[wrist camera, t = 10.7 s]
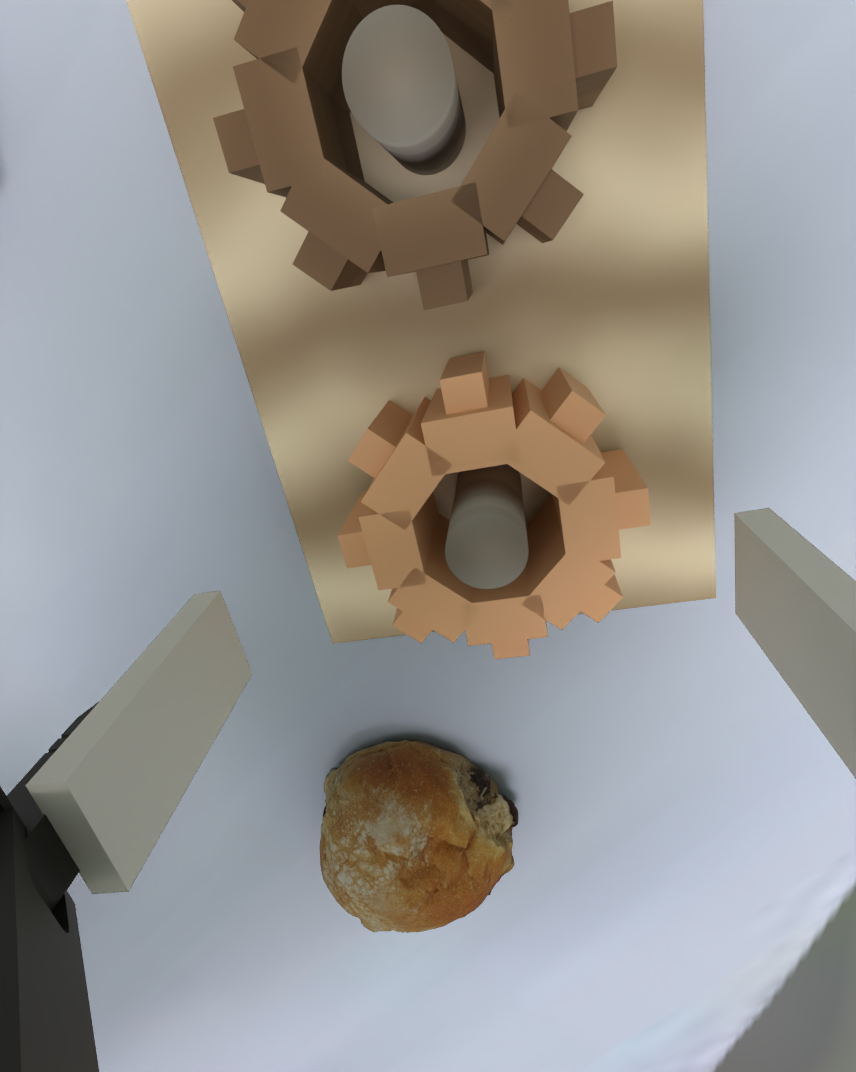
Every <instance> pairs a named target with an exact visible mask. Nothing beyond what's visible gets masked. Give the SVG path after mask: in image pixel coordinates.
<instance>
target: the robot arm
mask: <svg viewBox="0 0 856 1072" xmlns="http://www.w3.org/2000/svg"><path fill="white" fill-rule="evenodd" d="M734 517H735V613H736V614H737V616H738V617H739V619H740V620H741V621H742V623H743V624H744V625H745V627H746V628H747V630H748V631H749V632H750V634H751V635H752V636H753V638H754V639H755V641H756V642H757V643H758V645H759V646H760V647H761V649H762V650H763V652H764V653H765V654H766V656H767V657H768V659H769V660H770V661H771V663H772V664H773V665H774V667H775V668H776V670H777V671H778V672H779V674H780V675H781V676H782V678H783V679H784V681H785V682H786V683H787V685H788V686H789V687H790V689H791V690H792V692H793V693H794V694H795V696H796V697H797V698H798V700H799V701H800V703H801V704H802V705H803V707H804V708H805V709H806V711H807V712H808V714H809V715H810V716H811V718H812V719H813V721H814V722H815V723H816V725H817V726H818V727H819V729H820V730H821V732H822V733H823V734H824V736H825V737H826V738H827V740H828V741H829V743H830V744H831V745H832V747H833V748H834V749H835V751H836V752H837V754H838V755H839V756H840V758H841V759H842V760H843V762H844V763H845V765H846V766H847V767H848V769H849V770H850V771H851V773H852V774H853V776H854V777H855V778H856V581H855V580H854V579H853V578H851V577H850V576H849V575H848V574H847V573H846V572H844V571H843V570H842V569H841V568H840V567H838V566H837V565H836V564H835V563H834V562H833V561H831V560H830V559H829V558H828V557H827V556H825V555H824V554H823V553H822V552H821V551H820V550H818V549H817V548H816V547H815V546H814V545H812V544H811V543H810V542H809V541H808V540H807V539H805V538H804V537H803V536H802V535H801V534H799V533H798V532H797V531H796V530H795V529H794V528H792V527H791V526H790V525H789V524H788V523H786V522H785V521H784V520H783V519H782V518H781V517H779V516H778V515H777V514H776V513H775V512H773V511H772V510H771V509H770V508H765V509H758V510H751V511H745V512H738V513H734ZM251 675H252V672H251V669H250V666H249V664H248V661H247V659H246V656H245V654H244V651H243V648H242V646H241V643H240V641H239V638H238V635H237V633H236V630H235V628H234V625H233V623H232V620H231V617H230V615H229V612H228V610H227V607H226V604H225V602H224V599H223V597H222V594H221V592H220V591H214V592H207V593H201V594H194V595H193V596H192V597H191V599H190V600H189V601H188V602H187V603H186V604H185V605H184V607H183V608H182V609H181V610H180V611H179V612H178V613H177V614H176V616H175V617H174V618H173V619H172V620H171V621H170V622H169V624H168V625H167V626H166V627H165V628H164V629H163V630H162V631H161V633H160V634H159V635H158V636H157V637H156V638H155V639H154V640H153V642H152V643H151V644H150V645H149V646H148V647H147V648H146V650H145V651H144V652H143V653H142V654H141V655H140V656H139V657H138V659H137V660H136V661H135V662H134V663H133V664H132V665H131V667H130V668H129V669H128V670H127V671H126V672H125V673H124V674H123V676H122V677H121V678H120V679H119V680H118V681H117V682H116V684H115V685H114V686H113V687H112V688H111V689H110V690H109V691H108V693H107V694H106V695H105V696H104V697H103V698H102V699H101V701H100V702H98V703H96V704H95V705H94V706H92V707H91V708H90V709H88V710H87V711H86V712H84V713H83V714H82V715H80V716H79V717H78V718H77V719H76V720H75V721H74V722H73V723H72V724H71V725H70V726H69V728H68V729H67V730H66V731H65V732H64V733H63V734H62V735H61V736H62V738H61V739H58V740H57V741H56V742H55V743H54V744H53V745H52V746H51V748H50V749H49V753H45V754H44V755H43V756H42V758H41V759H40V760H39V761H38V762H37V763H36V764H35V765H34V766H33V768H32V769H31V770H30V771H29V772H28V773H27V774H26V775H25V776H24V778H23V779H22V780H21V781H20V782H19V783H18V784H17V785H16V786H15V788H14V789H13V790H12V791H11V792H10V793H9V794H8V795H7V796H6V795H5V793H4V792H3V790H2V788H1V787H0V1072H99V1068H98V1061H97V1054H96V1047H95V1040H94V1034H93V1027H92V1020H91V1013H90V1006H89V999H88V992H87V985H86V978H85V971H84V965H83V958H82V951H81V944H80V937H79V930H78V923H77V916H76V909H75V904H74V902H73V900H72V898H71V896H70V895H69V893H68V892H67V889H68V887H69V886H70V884H71V883H72V881H73V880H74V878H75V877H76V875H77V874H78V872H79V873H80V875H81V876H82V878H83V880H84V881H85V883H86V885H87V886H88V888H89V889H90V891H91V893H92V894H99V893H114V892H129V890H130V888H131V887H132V885H133V883H134V881H135V879H136V878H137V876H138V874H139V872H140V871H141V869H142V867H143V865H144V864H145V862H146V860H147V858H148V857H149V855H150V853H151V851H152V850H153V848H154V846H155V844H156V843H157V841H158V839H159V837H160V835H161V834H162V832H163V830H164V828H165V827H166V825H167V823H168V821H169V820H170V818H171V816H172V814H173V813H174V811H175V809H176V807H177V806H178V804H179V802H180V800H181V799H182V797H183V795H184V793H185V791H186V790H187V788H188V786H189V784H190V783H191V781H192V779H193V777H194V776H195V774H196V772H197V770H198V769H199V767H200V765H201V763H202V762H203V760H204V758H205V756H206V755H207V753H208V751H209V749H210V747H211V746H212V744H213V742H214V740H215V739H216V737H217V735H218V733H219V732H220V730H221V728H222V726H223V725H224V723H225V721H226V719H227V718H228V716H229V714H230V712H231V711H232V709H233V707H234V705H235V703H236V702H237V700H238V698H239V696H240V695H241V693H242V691H243V689H244V688H245V686H246V684H247V682H248V681H249V679H250V677H251Z"/></svg>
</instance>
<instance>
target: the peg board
mask: <svg viewBox="0 0 856 1072" xmlns="http://www.w3.org/2000/svg"><path fill="white" fill-rule="evenodd" d="M126 1H127V4H128V7H129V10H130V14H131V17H132V20H133V23H134V26H135V29H136V32H137V35H138V39H139V42H140V45H141V48H142V51H143V54H144V57H145V60H146V63H147V67H148V70H149V73H150V76H151V79H152V82H153V85H154V88H155V91H156V95H157V98H158V101H159V104H160V107H161V110H162V113H163V116H164V120H165V123H166V126H167V129H168V132H169V135H170V138H171V141H172V144H173V148H174V151H175V154H176V157H177V160H178V163H179V166H180V169H181V173H182V176H183V179H184V182H185V185H186V188H187V191H188V194H189V197H190V201H191V204H192V207H193V210H194V213H195V216H196V219H197V222H198V225H199V229H200V232H201V235H202V238H203V241H204V244H205V247H206V250H207V254H208V257H209V260H210V263H211V266H212V269H213V272H214V275H215V278H216V282H217V285H218V288H219V291H220V294H221V297H222V300H223V303H224V306H225V310H226V313H227V316H228V319H229V322H230V325H231V328H232V331H233V335H234V338H235V341H236V344H237V347H238V350H239V353H240V356H241V359H242V363H243V366H244V369H245V372H246V375H247V378H248V381H249V384H250V387H251V391H252V394H253V397H254V400H255V403H256V406H257V409H258V412H259V416H260V419H261V422H262V425H263V428H264V431H265V434H266V437H267V440H268V444H269V447H270V450H271V453H272V456H273V459H274V462H275V465H276V468H277V472H278V475H279V478H280V481H281V484H282V487H283V490H284V493H285V497H286V500H287V503H288V506H289V509H290V512H291V515H292V518H293V521H294V525H295V528H296V531H297V534H298V537H299V540H300V543H301V546H302V549H303V553H304V556H305V559H306V562H307V565H308V568H309V571H310V574H311V578H312V581H313V584H314V587H315V590H316V593H317V596H318V599H319V602H320V606H321V609H322V612H323V615H324V618H325V621H326V624H327V627H328V630H329V634H330V637H331V640H332V643H342V642H350V641H359V640H367V639H375V638H384V637H392V636H400V635H407V634H405V633H404V632H402V631H400V630H399V629H397V628H395V627H394V626H392V624H393V621H394V617H395V614H396V610H397V608H396V607H395V606H393V605H391V604H390V603H388V599H389V596H390V593H391V590H392V589H386V590H379V591H378V587H377V583H376V580H375V576H374V572H373V569H372V565H368V566H361V567H354V568H347V567H346V564H345V560H344V557H343V553H342V550H341V547H340V543H339V540H338V536H337V535H338V534H339V532H340V530H341V528H342V527H343V525H344V523H345V521H346V520H347V518H348V516H349V514H350V513H351V511H352V509H353V507H354V506H355V504H356V502H357V500H358V499H359V497H360V495H361V493H362V492H365V491H367V490H368V488H369V486H370V484H371V483H372V481H373V479H374V477H372V476H370V475H369V474H367V473H366V472H364V471H363V470H361V469H360V468H358V467H356V466H355V465H353V464H352V463H350V462H349V461H347V460H348V459H349V457H350V456H351V454H352V452H353V451H354V449H355V448H356V446H357V444H358V443H359V441H360V440H361V438H362V436H363V435H364V433H365V432H366V430H367V428H368V427H369V426H370V424H371V423H372V422H373V420H374V419H375V418H376V416H377V415H378V414H379V413H380V411H381V410H382V409H383V407H384V406H385V405H386V403H387V402H388V401H389V400H390V401H392V402H393V403H395V404H396V405H398V406H399V407H401V408H402V409H404V410H405V411H407V412H408V413H410V414H411V415H413V414H414V412H415V411H416V409H417V408H418V406H419V405H420V403H421V402H422V400H423V399H424V397H427V398H428V399H430V400H432V398H433V395H434V393H435V391H436V389H437V388H441V385H440V378H441V376H442V373H443V371H444V369H445V367H446V365H447V363H448V361H449V358H454V357H459V356H464V355H469V354H474V353H479V352H485V358H486V364H487V371H488V377H489V378H494V377H499V376H504V375H509V376H510V383H511V389H512V393H513V391H514V390H515V389H516V387H517V386H518V384H519V383H520V382H521V380H522V379H523V378H525V379H526V380H528V381H529V382H530V383H532V384H533V385H535V386H536V387H538V388H539V389H540V390H542V389H543V388H544V387H545V385H546V384H547V382H548V381H549V380H550V378H551V377H552V376H553V374H554V373H555V372H556V370H557V369H558V368H559V367H560V368H561V369H562V370H564V371H565V372H566V373H568V374H569V375H571V376H572V377H573V378H575V379H576V380H578V381H579V382H580V383H582V384H583V385H585V386H586V387H587V388H588V389H589V391H590V392H591V394H592V395H593V396H594V398H595V399H596V401H597V402H598V404H599V405H600V407H601V408H602V409H603V411H604V412H605V414H606V416H605V418H604V419H603V420H602V421H601V423H600V424H599V425H598V426H597V427H596V429H595V430H594V431H593V432H592V434H591V435H592V437H593V439H594V440H595V442H596V444H597V446H598V448H599V450H600V452H607V451H613V450H619V449H623V451H624V452H625V454H626V455H627V457H628V458H629V460H630V461H631V463H632V464H633V466H634V467H635V469H636V470H637V472H638V473H639V475H640V476H641V478H642V480H643V481H644V483H645V484H646V486H647V487H648V493H649V508H650V523H651V525H649V526H642V527H635V528H628V529H621V530H619V538H620V549H621V558H617V559H611V561H612V563H613V566H614V569H615V571H616V573H615V577H616V579H617V582H618V585H619V587H620V590H621V593H622V595H623V598H622V599H621V600H620V601H619V602H618V603H617V604H616V605H615V606H614V607H613V608H612V609H611V610H618V609H627V608H635V607H643V606H652V605H660V604H668V603H677V602H685V601H694V600H702V599H710V598H716V576H715V529H714V483H713V437H712V390H711V344H710V298H709V251H708V205H707V159H706V112H705V66H704V20H703V0H126ZM434 496H435V501H436V505H437V510H438V513H439V514H441V515H442V516H444V517H445V518H447V519H448V520H450V523H449V528H448V534H447V540H446V545H445V557H446V561H447V564H448V566H449V568H450V570H451V571H452V573H453V574H454V575H455V576H456V577H457V578H458V579H459V580H461V581H462V582H463V583H465V584H467V585H469V586H472V587H475V588H480V589H494V588H499V587H502V586H505V585H507V584H509V583H511V582H512V581H514V580H515V579H516V578H517V577H518V576H519V575H520V574H521V573H522V571H523V570H524V568H525V566H526V563H527V560H528V553H529V551H528V540H527V531H526V526H527V525H528V524H529V523H530V522H531V520H532V519H533V518H534V517H535V515H536V514H537V513H538V512H539V511H540V509H541V508H542V507H543V506H544V504H545V503H546V502H547V501H548V500H549V498H550V497H551V496H552V494H551V493H550V492H548V491H547V490H545V489H544V488H542V487H541V486H539V485H538V484H537V483H535V482H534V481H532V480H531V479H529V478H528V477H526V476H525V475H523V474H522V473H520V472H519V471H517V470H516V469H514V468H513V467H511V466H510V465H508V464H503V465H497V466H491V467H485V468H479V469H473V470H467V471H461V472H455V473H449V474H445V475H444V477H443V478H442V479H441V481H440V482H439V484H438V485H437V486H436V488H435V489H434ZM577 614H584V613H582V612H581V611H579V612H578V613H577ZM431 632H434V630H432V631H431Z"/></svg>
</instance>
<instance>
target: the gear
mask: <svg viewBox="0 0 856 1072" xmlns="http://www.w3.org/2000/svg"><path fill="white" fill-rule="evenodd" d="M440 385H441V388H437V389H436V391H435V393H434V395H433V398H432V400H430V399H428V398H427V397H424V399H423V400H422V402H421V403H420V405H419V406H418V408H417V409H416V411H415V412H414V414H413V415H411V414H410V413H408V412H407V411H405V410H404V409H402V408H401V407H399V406H398V405H396V404H395V403H393V402H392V401H390V400H389V401H388V402H387V403H386V405H385V406H384V407H383V409H382V410H381V411H380V413H379V414H378V415H377V416H376V418H375V419H374V420H373V422H372V423H371V424H370V426H369V427H368V428H367V430H366V432H365V433H364V435H363V436H362V438H361V440H360V441H359V443H358V444H357V446H356V448H355V449H354V451H353V452H352V454H351V456H350V457H349V459H348V460H347V461H349V462H350V463H352V464H353V465H355V466H356V467H358V468H360V469H361V470H363V471H364V472H366V473H367V474H369V475H370V476H372V477H374V479H373V481H372V483H371V484H370V486H369V488H368V490H367V491H365V492H362V493H361V495H360V497H359V499H358V500H357V502H356V504H355V506H354V507H353V509H352V511H351V513H350V514H349V516H348V518H347V520H346V521H345V523H344V525H343V527H342V528H341V530H340V532H339V534H338V535H337V536H338V540H339V543H340V547H341V550H342V553H343V557H344V560H345V564H346V567H347V568H354V567H361V566H368V565H372V569H373V572H374V576H375V580H376V583H377V587H378V591H379V590H386V589H392V590H391V593H390V596H389V599H388V603H390V604H391V605H393V606H395V607H396V608H397V610H396V614H395V617H394V621H393V624H392V626H394V627H395V628H397V629H399V630H400V631H402V632H404V633H405V634H407V635H408V636H410V637H412V638H413V639H415V640H417V641H418V642H420V643H422V642H423V641H424V640H425V639H426V637H427V636H428V635H429V634H430V632H431V631H432V630H434V631H435V632H437V633H439V634H440V635H442V636H444V637H445V638H447V639H449V640H450V641H452V642H453V643H454V642H455V641H456V639H457V638H458V637H459V636H460V635H461V633H462V632H463V631H464V630H465V631H466V636H467V640H468V645H469V646H473V645H481V644H490V643H491V644H492V649H493V654H494V659H502V658H511V657H520V656H529V655H530V653H529V641H528V639H534V638H543V637H548V634H547V627H546V620H547V621H548V622H550V623H551V624H553V625H554V626H556V627H558V628H559V629H561V630H562V629H563V628H564V627H565V626H566V625H567V624H568V623H569V622H570V621H571V620H572V619H573V618H574V617H575V616H576V615H577V613H578V612H579V611H581V612H582V613H584V614H586V615H587V616H589V617H590V618H592V619H593V620H595V621H596V622H598V623H599V622H600V621H601V620H602V619H603V618H604V617H605V615H606V614H607V613H608V612H609V611H610V610H611V609H612V608H613V607H614V606H615V605H616V604H617V603H618V602H619V601H620V600H621V599H622V598H623V595H622V593H621V590H620V587H619V585H618V582H617V579H616V577H615V573H616V571H615V569H614V566H613V563H612V561H611V559H617V558H621V549H620V538H619V530H621V529H628V528H635V527H642V526H649V525H651V523H650V508H649V493H648V487H647V486H646V484H645V483H644V481H643V480H642V478H641V476H640V475H639V473H638V472H637V470H636V469H635V467H634V466H633V464H632V463H631V461H630V460H629V458H628V457H627V455H626V454H625V452H624V451H623V449H619V450H613V451H607V452H600V450H599V448H598V446H597V444H596V442H595V440H594V439H593V437H592V435H591V434H592V432H593V431H594V430H595V429H596V427H597V426H598V425H599V424H600V423H601V421H602V420H603V419H604V418H605V416H606V414H605V412H604V411H603V409H602V408H601V407H600V405H599V404H598V402H597V401H596V399H595V398H594V396H593V395H592V394H591V392H590V391H589V389H588V388H587V387H586V386H585V385H583V384H582V383H580V382H579V381H578V380H576V379H575V378H573V377H572V376H571V375H569V374H568V373H566V372H565V371H564V370H562V369H561V368H560V367H559V368H558V369H557V370H556V372H555V373H554V374H553V376H552V377H551V378H550V380H549V381H548V382H547V384H546V385H545V387H544V388H543V389H542V390H540V389H539V388H538V387H536V386H535V385H533V384H532V383H530V382H529V381H528V380H526V379H525V378H523V379H522V380H521V382H520V383H519V384H518V386H517V387H516V389H515V390H514V391H513V393H512V389H511V383H510V376H509V375H504V376H499V377H494V378H489V377H488V371H487V364H486V358H485V352H479V353H474V354H469V355H464V356H459V357H454V358H449V361H448V363H447V365H446V367H445V369H444V371H443V373H442V376H441V378H440ZM503 464H508V465H510V466H511V467H513V468H514V469H516V470H517V471H519V472H520V473H522V474H523V475H525V476H526V477H528V478H529V479H531V480H532V481H534V482H535V483H537V484H538V485H539V486H541V487H542V488H544V489H545V490H547V491H548V492H550V493H551V494H552V496H551V497H550V498H549V500H548V501H547V502H546V503H545V504H544V506H543V507H542V508H541V509H540V511H539V512H538V513H537V514H536V515H535V517H534V518H533V519H532V520H531V522H530V523H529V524H528V525H527V526H526V531H527V540H528V551H529V553H528V560H527V563H526V566H525V568H524V570H523V571H522V573H521V574H520V575H519V576H518V577H517V578H516V579H515V580H514V581H512V582H511V583H509V584H507V585H505V586H502V587H499V588H494V589H480V588H475V587H472V586H469V585H467V584H465V583H463V582H462V581H461V580H459V579H458V578H457V577H456V576H455V575H454V574H453V573H452V571H451V570H450V568H449V566H448V564H447V561H446V557H445V545H446V540H447V534H448V528H449V523H450V520H448V519H447V518H445V517H444V516H442V515H441V514H439V513H438V510H437V505H436V501H435V496H434V489H435V488H436V486H437V485H438V484H439V482H440V481H441V479H442V478H443V477H444V475H445V474H449V473H455V472H461V471H467V470H473V469H479V468H485V467H491V466H497V465H503Z"/></svg>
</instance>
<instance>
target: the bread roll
mask: <svg viewBox="0 0 856 1072" xmlns="http://www.w3.org/2000/svg"><path fill="white" fill-rule="evenodd" d="M324 792H325V793H326V796H327V799H326V800H325V801H326V803H327V804H326V807H325V808H324V813H323V823H322V825H321V826H322V827H321V840H320V865H321V871H322V875H323V879H324V881H325V883H326V885H327V887H328V889H329V890H330V892H331V893H332V894H333V896H334V898H335V899H336V901H337V902H338V903H339V904H340V905H341V906H342V907H343V908H344V909H345V910H346V911H347V912H348V913H350V914H351V915H352V916H356V917H358V918H360V920H361V923H362V924H363V926H364V927H366V928H367V929H369V930H371V931H373V932H377V931H392V930H394V931H398V932H407V933H408V932H421V931H426V930H430V929H435V928H439V927H442V926H444V925H447V924H449V923H450V922H452V921H454V920H456V919H459V918H462V917H465V916H466V915H467V914H469V913H470V912H472V911H474V910H475V909H476V908H477V907H478V906H479V905H480V904H481V903H482V902H483V901H484V899H485V898H486V896H487V895H490V893H491V890H492V889H493V887H494V886H495V884H496V883H497V882H498V881H499V880H500V878H501V877H502V876H503V875H504V874H505V873H507V872H509V871H510V870H511V869H512V868H513V866H514V859H513V856H512V844H513V840H512V829H513V828H512V827H515V826H516V825H517V824H518V810H517V808H516V807H515V804H514V802H513V801H512V800H510V799H508V798H507V797H506V796H504V795H500V794H499V792H498V787H497V785H496V784H495V782H494V780H493V779H491V778H490V775H488V774H486V773H485V771H484V770H483V769H482V768H479V767H477V766H475V765H474V764H472V763H471V762H470V761H469V760H467V759H466V758H465V757H463V756H462V755H459V754H456V753H454V752H450V751H446V750H443V749H441V748H437V747H436V746H433V745H431V744H429V743H427V742H422V741H418V740H414V741H412V742H411V741H408V740H402V741H401V742H382V743H381V744H378V745H376V746H373V747H368V748H365V749H363V750H360V751H358V752H355V753H353V754H351V755H349V756H348V757H347V758H346V760H345V761H344V762H343V763H342V764H341V766H340V767H339V768H338V769H337V770H335V769H332V770H331V771H330V773H329V775H328V776H327V778H326V779H325V782H324Z"/></svg>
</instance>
